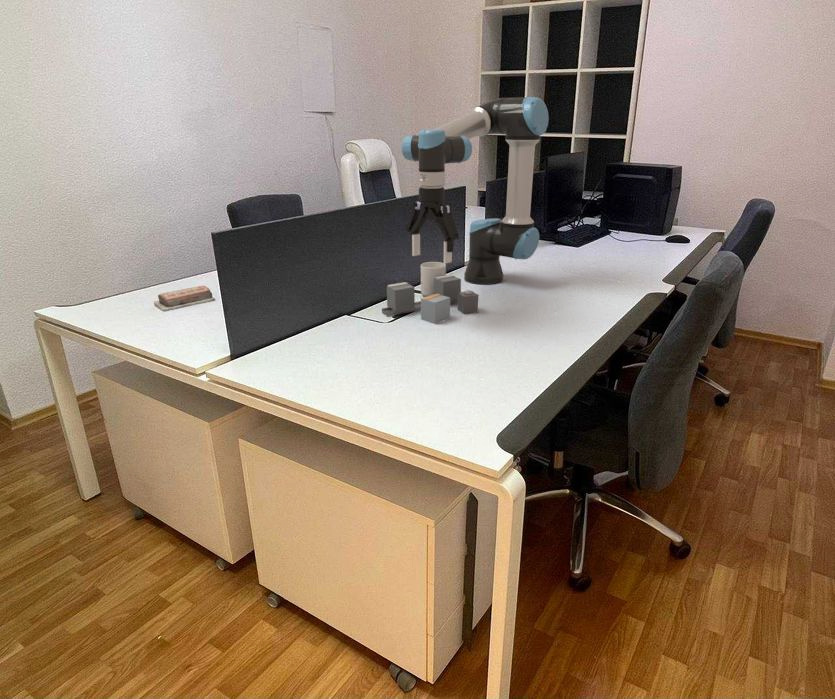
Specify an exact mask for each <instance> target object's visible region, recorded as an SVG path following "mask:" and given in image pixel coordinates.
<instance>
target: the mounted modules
mask: <svg viewBox="0 0 835 699" xmlns="http://www.w3.org/2000/svg"><path fill="white" fill-rule="evenodd" d="M458 292H462V278H460V277H457V276H455V274H454V275H453V274H446V276H440V277H435V278H434V294H440V295H443V296H446V297H450V301H452V300H458ZM415 302H416V299H415V286H413V285H411V284H409V283H408V282H406V281H405V282H397V283H391V284H387V285H386V305H387V306H386V307H389V308H391V309H393V310H394V311H400V310H405V309H410V308H415Z"/></svg>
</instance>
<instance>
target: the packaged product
mask: <svg viewBox="0 0 835 699" xmlns="http://www.w3.org/2000/svg"><path fill="white" fill-rule="evenodd" d="M157 296H158V300H156V301H153V304H154V306H156V308H158V309H160V311H162V312H164V313H165V312H169V311H172V310H178V309H183V308H187V307H192V306H197V305H201V304H205V303H211V302H214V301H216V298H215V297H213V292H212V291H211V289H210V288H209V287H207V286H205V285H199V286H198V285H197V286H193V287H188V288H181V289H178V290H173V291H167V292H163V293H162V292H161V293H160V294H157Z"/></svg>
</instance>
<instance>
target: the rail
mask: <svg viewBox="0 0 835 699" xmlns="http://www.w3.org/2000/svg"><path fill="white" fill-rule="evenodd" d="M454 304H458V300H452V301H450V305H454ZM417 311H421V300H420V301H415V308H410V309H405V310H400V311H394V310H393V309H391V308H389V307H388V306H386V307H382V308H381V313H382V314H383V315H384V316H386V317H392V316H397V315H402V314H403V315H404V314H407V313H413V312H417Z"/></svg>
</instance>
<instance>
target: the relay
mask: <svg viewBox="0 0 835 699" xmlns="http://www.w3.org/2000/svg"><path fill="white" fill-rule="evenodd" d="M457 310H458V312H460V313H461V314H463V315H469V314H478V313H479V294H478V293H477V292H474V291H473V290H470V289H469V290H467V289H466V290H464V291H461V292H458V303H457Z"/></svg>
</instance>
